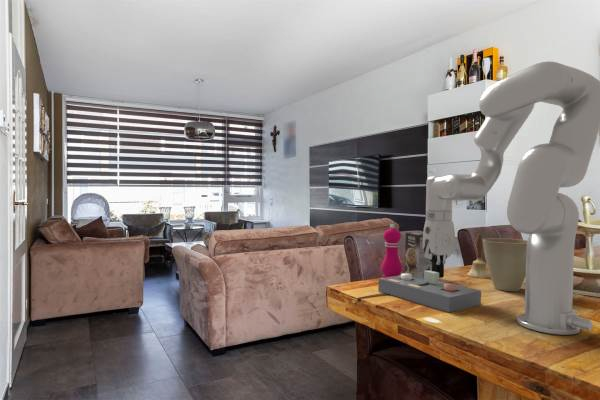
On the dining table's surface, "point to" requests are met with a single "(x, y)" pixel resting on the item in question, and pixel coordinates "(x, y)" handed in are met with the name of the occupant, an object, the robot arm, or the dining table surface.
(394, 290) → the switch panel
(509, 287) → the plant pot
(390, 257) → the pepper mill
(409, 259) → the coffee box
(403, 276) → the off white button
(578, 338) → the dining table surface
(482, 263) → the hand bell
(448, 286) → the terracotta button
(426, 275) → the pale green block
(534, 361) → the dining table surface
